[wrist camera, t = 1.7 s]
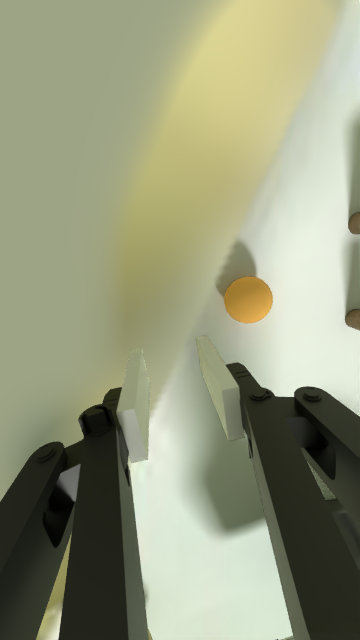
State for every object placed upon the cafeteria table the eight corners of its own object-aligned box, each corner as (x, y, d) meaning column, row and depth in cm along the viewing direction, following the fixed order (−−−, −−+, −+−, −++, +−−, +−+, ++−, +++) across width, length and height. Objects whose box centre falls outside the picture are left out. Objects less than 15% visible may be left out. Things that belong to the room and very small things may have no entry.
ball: (261, 312, 32) (282, 324, 27) (221, 319, 32) (235, 333, 26) (258, 270, 30) (280, 274, 25) (216, 278, 30) (229, 284, 25)
